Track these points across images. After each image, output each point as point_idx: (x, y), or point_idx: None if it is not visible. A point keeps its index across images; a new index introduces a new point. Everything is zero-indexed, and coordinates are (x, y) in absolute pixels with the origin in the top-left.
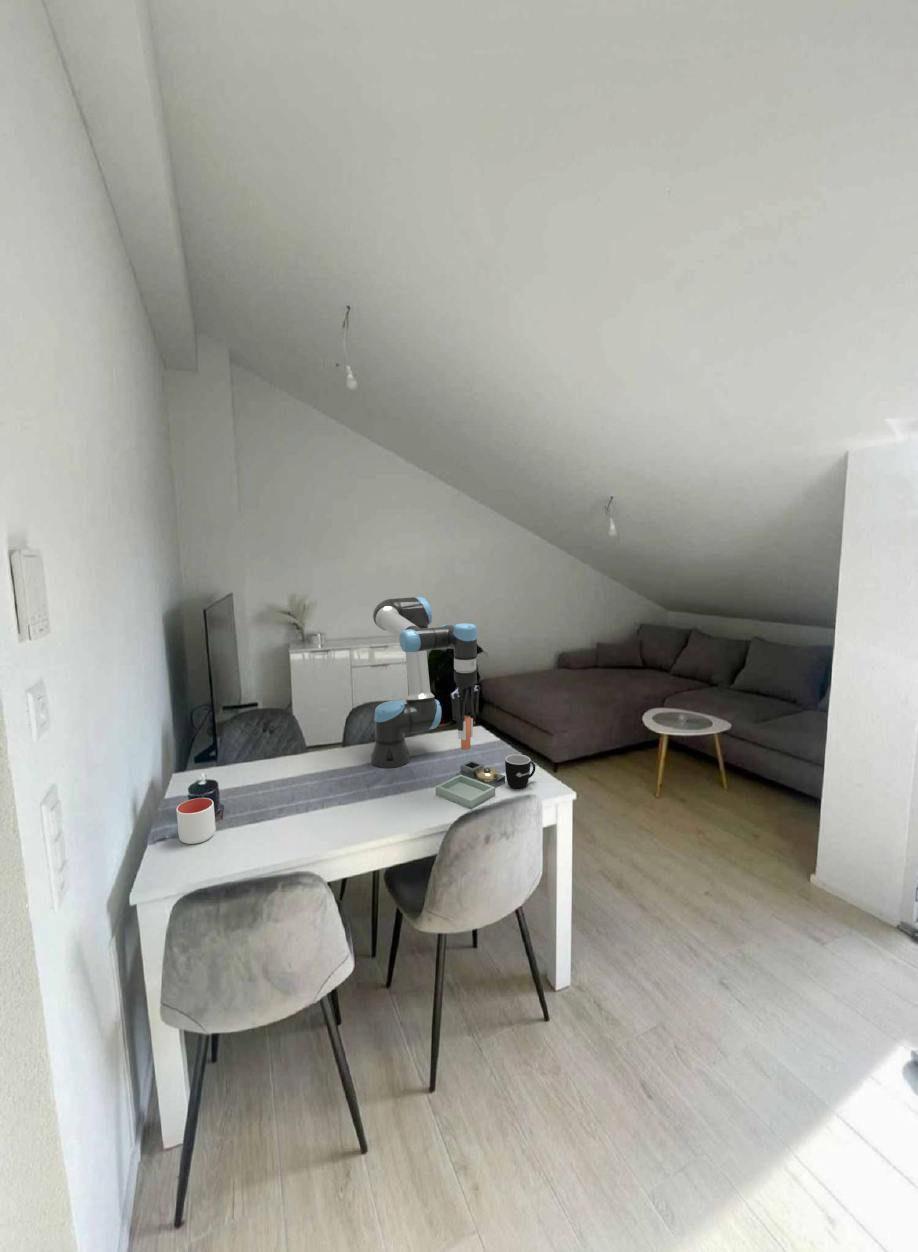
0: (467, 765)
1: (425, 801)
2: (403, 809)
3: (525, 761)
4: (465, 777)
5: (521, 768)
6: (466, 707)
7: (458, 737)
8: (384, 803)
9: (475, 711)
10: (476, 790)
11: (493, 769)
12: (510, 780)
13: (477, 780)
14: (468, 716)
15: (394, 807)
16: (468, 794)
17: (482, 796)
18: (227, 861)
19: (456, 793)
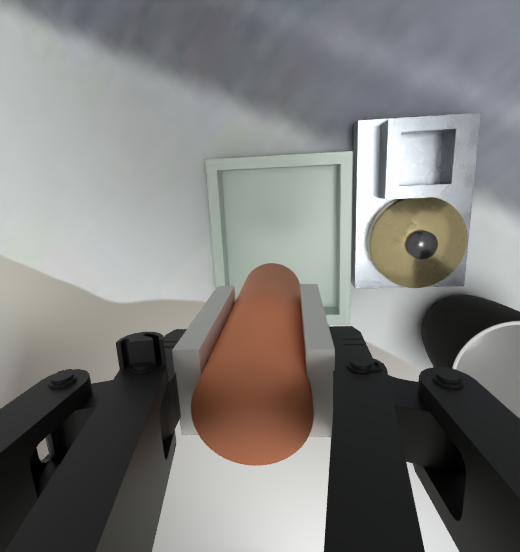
0: (422, 131)
1: (155, 172)
2: (70, 161)
3: None
4: (342, 188)
5: None
6: (332, 453)
7: (216, 290)
8: (42, 76)
9: (425, 487)
10: (320, 257)
11: (455, 248)
12: (425, 337)
13: (361, 233)
14: (294, 424)
15: (54, 127)
16: (279, 256)
17: None
18: None
19: (220, 257)
